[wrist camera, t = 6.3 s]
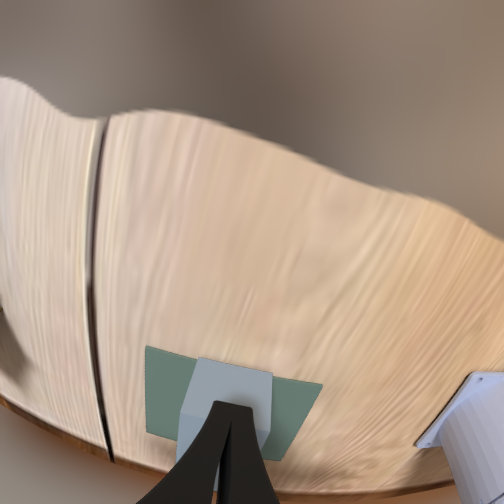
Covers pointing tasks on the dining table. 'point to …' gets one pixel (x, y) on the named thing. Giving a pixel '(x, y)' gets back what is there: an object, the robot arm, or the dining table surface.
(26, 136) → the dining table surface
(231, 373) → the slate-blue block
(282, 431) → the felt mat
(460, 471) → the robot arm
